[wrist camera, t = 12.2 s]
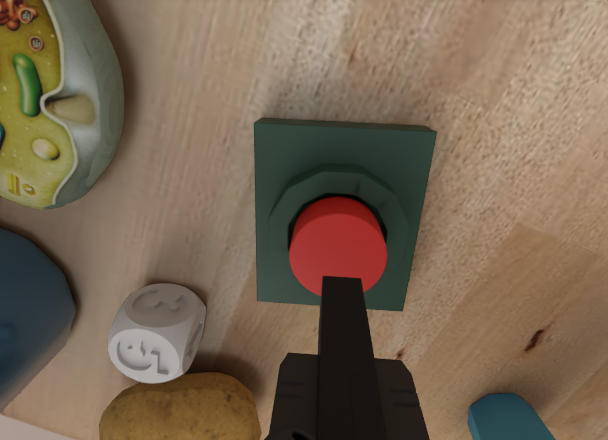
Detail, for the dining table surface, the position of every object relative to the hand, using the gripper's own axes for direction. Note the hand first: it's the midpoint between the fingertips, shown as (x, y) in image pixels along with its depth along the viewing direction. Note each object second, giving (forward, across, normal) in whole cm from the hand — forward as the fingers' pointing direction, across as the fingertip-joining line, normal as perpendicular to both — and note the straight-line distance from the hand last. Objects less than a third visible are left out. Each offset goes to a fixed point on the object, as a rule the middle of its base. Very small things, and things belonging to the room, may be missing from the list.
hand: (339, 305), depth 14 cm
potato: (+10, -11, -18) cm, 24 cm away
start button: (+7, 0, 0) cm, 7 cm away
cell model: (+10, -18, +8) cm, 22 cm away
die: (+10, -12, -9) cm, 18 cm away
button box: (+10, 0, 0) cm, 10 cm away
